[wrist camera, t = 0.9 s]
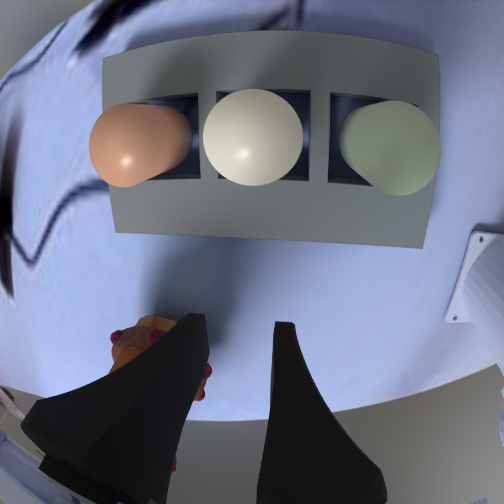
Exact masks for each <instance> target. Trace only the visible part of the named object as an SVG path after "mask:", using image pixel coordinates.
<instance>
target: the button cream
mask: <svg viewBox="0 0 504 504" xmlns="http://www.w3.org/2000/svg"><path fill="white" fill-rule="evenodd" d="M203 143H204V148H205V152H206V155H207V157H208V159H209V161H210V162H211V164H212V165H213V167H214V168H215V169H216V170H217V171H218V172H219V173H220V174H221V175H222V176H224V177H225V178H227V179H229V180H231V181H233V182H235V183H238V184H242V185H248V186H259V185H265V184H269V183H272V182H274V181H276V180H278V179H280V178H281V177H283V176H284V175H285V174H287V173H288V172H289V171H290V170H291V169H292V167H293V166H294V165H295V163H296V162H297V160H298V158H299V156H300V153H301V150H302V145H303V130H302V125H301V122H300V119H299V117H298V115H297V113H296V112H295V111H294V109H293V108H292V107H291V105H290V104H289V103H288V102H286V101H285V100H284V99H283V98H281V97H280V96H278V95H276V94H274V93H272V92H269V91H266V90H261V89H244V90H240V91H237V92H234V93H231V94H229V95H228V96H226V97H224V98H223V99H222V100H220V101H219V102H218V103H217V104H216V105H215V106H214V107H213V109H212V110H211V112H210V113H209V115H208V117H207V119H206V122H205V125H204V131H203Z"/></svg>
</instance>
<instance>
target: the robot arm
mask: <svg viewBox="0 0 504 504" xmlns="http://www.w3.org/2000/svg"><path fill="white" fill-rule="evenodd" d="M481 236H482V238H481V240H479V239H480V237H481ZM454 316H455V317H454ZM453 317H454V318H453ZM444 319H445V321H446V322H447V323H454V322H472V323H473V324H474V326H475V327H476V329H477V331H478V332H479V334H480V335H481V337H482V339H483V340H484V342H485V344H486V345H487V347H488V349H489V350H490V352H491V354H492V355H493V357H494V359H495V361H496V363H497V364H498V366H499V368H500V370H501V372H502V374H503V376H504V234H498V233H491V232H483V231H474V232H472V234H471V236H470V239H469V243H468V247H467V251H466V254H465V258H464V261H463V265H462V268H461V271H460V275H459V278H458V281H457V284H456V287H455V290H454V293H453V295H452V298H451V301H450V304H449V306H448V309H447V311H446V314H445V317H444ZM208 357H209V346H208V339H207V332H206V324H205V316H204V315H202V314H193V313H189V314H188V315H186V316H185V317H184V318H183V319H182V320H181V321H179V322H178V323H177V324H176V325H175V326H174V327H173V328H171V329H170V330H169V331H168V332H167V333H166V334H165V335H163V336H162V337H161V338H160V339H159V340H157V341H156V342H155V343H154V344H153V345H151V346H150V347H149V348H147V349H146V350H145V351H143V352H142V353H141V354H139V355H138V356H137V357H135V358H134V359H133V360H131V361H130V362H128V363H127V364H125V365H123V366H122V367H120V368H118V369H117V370H115V371H113V372H112V373H110V374H108V375H106V376H104V377H102V378H100V379H98V380H96V381H94V382H92V383H90V384H87V385H85V386H83V387H80V388H78V389H75V390H72V391H69V392H66V393H63V394H60V395H56V396H53V397H49V398H45V399H41V400H37V401H36V403H35V404H34V405H33V407H32V408H31V409H30V411H29V412H28V414H27V415H26V417H25V418H24V420H23V421H22V423H21V424H20V425H21V429H22V430H23V432H24V433H25V434H26V435H27V436H28V437H29V438H30V439H31V440H32V441H33V442H34V443H35V444H36V445H37V446H38V447H39V448H40V449H41V450H42V451H43V452H44V453H45V454H46V455H45V457H44V459H43V461H41V460H40V459H38V458H37V457H35V456H34V455H33V454H31V453H30V452H28V451H27V450H26V449H24V448H23V447H21V446H20V445H19V444H17V443H16V442H15V441H14V440H12V439H11V438H10V437H9V436H7V435H6V433H5V432H4V431H3V430H2V429H1V428H0V498H1V499H2V500H3V501H4V502H5V503H6V504H81V503H80V501H82V502H84V503H86V504H166V498H167V492H168V486H169V481H170V476H171V472H172V467H173V463H174V459H175V454H176V451H177V446H178V443H179V439H180V436H181V432H182V428H183V425H184V423H185V420H186V417H187V415H188V412H189V410H190V407H191V405H192V403H193V400H194V398H195V395H196V393H197V390H198V388H199V386H200V383H201V381H202V378H203V375H204V372H205V368H206V365H207V361H208ZM501 392H502V395H503V397H504V387H503V389H502V390H501ZM499 429H500V435H501V440H502V443H503V446H504V406H503V408H502V410H501V413H500V418H499ZM79 500H80V501H79ZM386 502H387V490H386V486H385V482H384V478H383V475H382V472H381V470H380V469H379V468H378V466H377V465H375V464H374V463H373V462H372V461H371V460H370V459H369V458H368V457H367V456H366V455H365V454H364V453H363V452H362V450H361V449H360V448H359V447H358V446H357V445H356V444H355V442H354V441H353V440H352V439H351V438H350V437H349V435H348V434H347V433H346V431H345V430H344V429H343V427H342V426H341V425H340V423H339V422H338V421H337V419H336V418H335V417H334V415H333V414H332V412H331V411H330V409H329V408H328V406H327V404H326V403H325V401H324V399H323V398H322V396H321V394H320V392H319V391H318V389H317V387H316V385H315V383H314V381H313V379H312V376H311V374H310V372H309V370H308V368H307V365H306V363H305V360H304V357H303V355H302V352H301V349H300V346H299V343H298V339H297V335H296V330H295V325H294V324H293V323H292V322H279V321H276V322H275V327H274V334H273V352H272V369H271V390H270V413H269V420H268V427H267V433H266V439H265V445H264V451H263V457H262V462H261V468H260V473H259V479H258V484H257V502H256V504H385V503H386ZM472 504H488V500H487V498H483V499H481V500H479V501H476V502H474V503H472Z"/></svg>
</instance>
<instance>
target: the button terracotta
mask: <svg viewBox="0 0 504 504" xmlns="http://www.w3.org/2000/svg"><path fill="white" fill-rule="evenodd" d="M191 145H192V129H191V126H190V123H189V121H188V119H187V118H186V116H185V115H184V114H183V113H182V112H181V111H179V110H178V109H176V108H174V107H171V106H165V105H150V104H125V103H124V104H118V105H115V106H112V107H110V108H109V109H107V110H106V111H105V112H103V113H102V114H101V116H100V117H99V118H98V119H97V121H96V123H95V124H94V126H93V129H92V132H91V135H90V142H89V151H90V157H91V161H92V164H93V166H94V168H95V170H96V172H97V173H98V174H99V176H100V177H101V178H102V179H103V180H104V181H106V182H107V183H109V184H111V185H113V186H116V187H131V186H134V185H136V184H139V183H141V182H143V181H145V180H147V179H150V178H152V177H154V176H156V175H159V174H161V173H163V172H166V171H168V170H170V169H173V168H175V167H176V166H178V165H179V164H181V163H182V162H183V161H184V159H185V158H186V157H187V155H188V153H189V151H190V148H191Z"/></svg>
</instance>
